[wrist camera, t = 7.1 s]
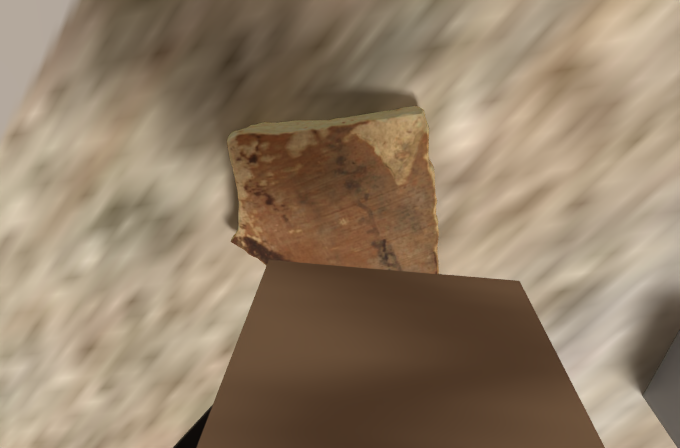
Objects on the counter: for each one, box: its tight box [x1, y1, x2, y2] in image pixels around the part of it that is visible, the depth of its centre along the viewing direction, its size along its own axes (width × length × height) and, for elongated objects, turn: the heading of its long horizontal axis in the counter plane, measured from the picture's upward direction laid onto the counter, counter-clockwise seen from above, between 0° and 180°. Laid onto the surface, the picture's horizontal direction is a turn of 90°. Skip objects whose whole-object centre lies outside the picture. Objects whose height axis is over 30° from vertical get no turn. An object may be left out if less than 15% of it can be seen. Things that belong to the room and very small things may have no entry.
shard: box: [227, 106, 439, 274], centre depth 17 cm, size 11×8×2 cm
